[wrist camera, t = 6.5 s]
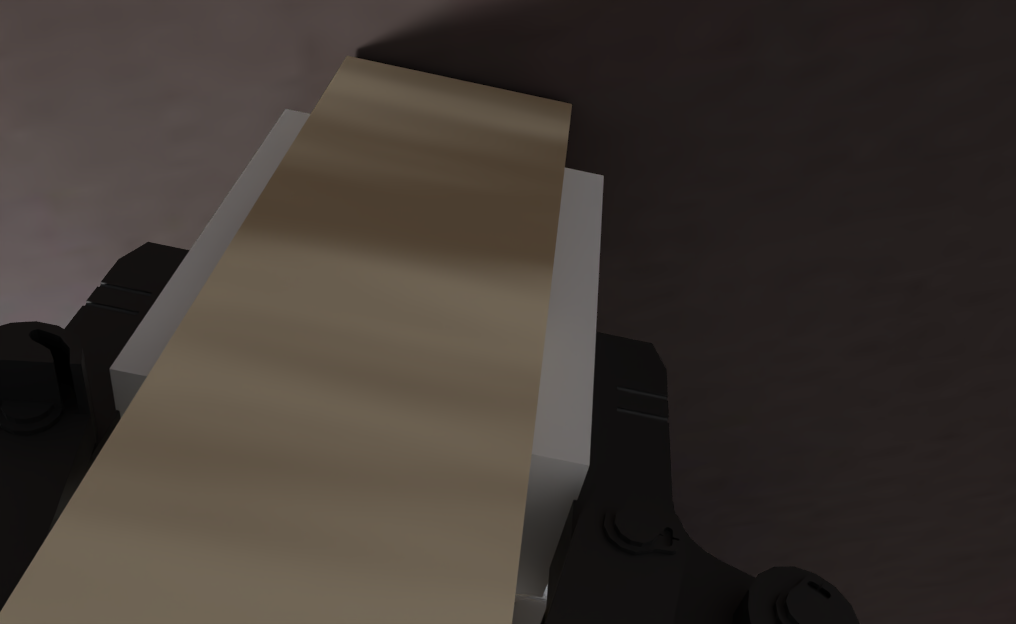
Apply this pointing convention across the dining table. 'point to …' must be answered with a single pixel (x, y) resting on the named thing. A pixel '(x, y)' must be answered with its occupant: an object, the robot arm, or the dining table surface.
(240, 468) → the l-shaped wooden piece
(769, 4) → the dining table surface
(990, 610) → the dining table surface
